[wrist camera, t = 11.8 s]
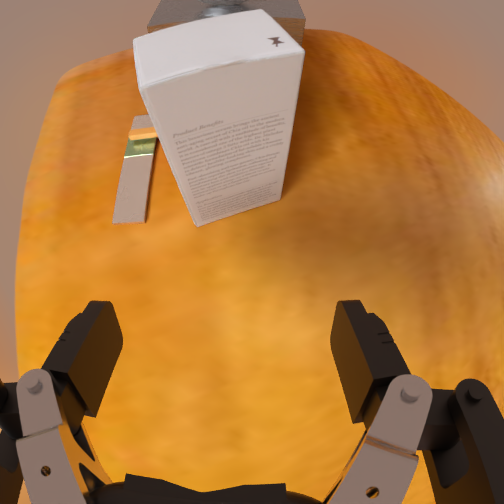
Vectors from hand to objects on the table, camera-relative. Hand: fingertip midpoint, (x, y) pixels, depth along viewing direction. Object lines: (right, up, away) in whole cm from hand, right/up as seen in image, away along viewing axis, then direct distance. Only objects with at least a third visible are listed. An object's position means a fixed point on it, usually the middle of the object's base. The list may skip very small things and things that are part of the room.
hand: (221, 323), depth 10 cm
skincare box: (-1, +7, +10) cm, 12 cm away
